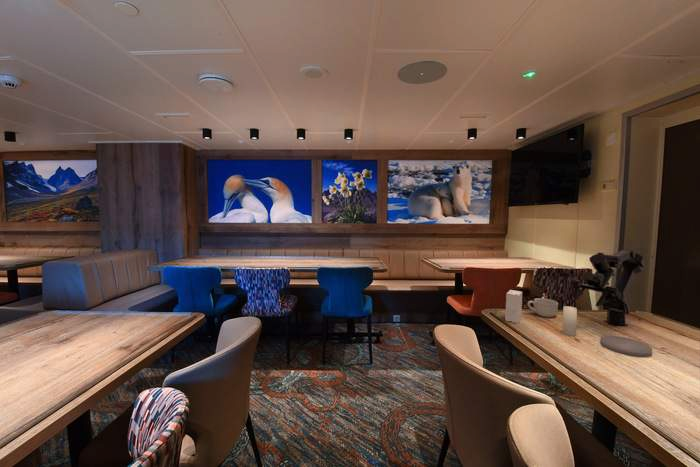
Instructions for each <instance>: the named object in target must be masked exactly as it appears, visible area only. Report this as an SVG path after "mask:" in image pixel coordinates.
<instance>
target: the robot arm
mask: <svg viewBox="0 0 700 467" xmlns="http://www.w3.org/2000/svg"><path fill="white" fill-rule="evenodd" d="M589 262H590V264H591V266H592V267H593V269H594V270H595V272H594V273H592V272H587V271H583V274H582V276H581V279H582V280H585V281H584V282H585V283H586V284H584V282H583V281H581V280H579V279H570V281H569V283H568V284H569V285H570V286H571V287H572V289H573V292H574V293H573V301H574V302H576V301H578V300H579V298H580V297H581V296H582V295H583V293H584V291H585V290H589V291H594V292H599V293H601V296H600V297H599V298H598V300H597V302H596V303H595V307H597V308H598V307H600V306H602V309H603V310H604V311H607V312H606V319H604V320H603V321H604V322H605V323H607V324H609V325H613V326H615V327H617V326H621V327H622V326H624V327H628V326H629V324H627V323H626V315H629V314H630V312H631V311H630V310H631V308H630V306H629V304H628V301H627V299H626V295H627V293H628V291H629V289H630V286H631V284H632V282H633V280H634V278H635V275H637V274H638V273H639V274H640V273H641V272H642V271H643V269H644V268H645V267H646V265H647V262H646V260H645V257H644V256H643V255H641V254H639V253H637V252H636V250H633V249H626V248H625V249H621V250H620V251H617V252H614V253H612V254H605V253H604V252H597V253H596V254H593V255H592V256H590V257H589ZM621 266H622V271H621V272H620V275H619V278H618V279H617V281H616V284H615V286H610V282H609V281H610V279H611V278H612V277H615V271H614V269H619V268H620V267H621ZM613 268H614V269H613Z"/></svg>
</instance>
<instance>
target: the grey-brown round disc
mask: <svg viewBox="0 0 700 467" xmlns="http://www.w3.org/2000/svg"><path fill="white" fill-rule="evenodd" d="M599 341H600V343H599V344H600V345H601V346H602V347H604V348H605V349H607V350H610V351H611V352H614V353H618V354H619V355H620V354H621V355H624V356H629V357H635V358H636V357H637V358H649V357H652V356H653V348H652V346H650V345H649V344H647V343H644V342H642V341H639V340H636V339H633V338H629V337H625V336H619V335H603V336H601V337H600V340H599Z"/></svg>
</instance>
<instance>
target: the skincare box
mask: <svg viewBox="0 0 700 467" xmlns="http://www.w3.org/2000/svg"><path fill="white" fill-rule="evenodd" d="M505 296H506V300H505V315H504V316H505V322H509V321H512V322H511V323H513V322H517V323H516V324H518V323H519V322H520V321H521V320H522V311H523V291H520V290H514V289H509V290H508V292H506V294H505ZM520 319H521V320H520Z"/></svg>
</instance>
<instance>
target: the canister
mask: <svg viewBox="0 0 700 467" xmlns="http://www.w3.org/2000/svg"><path fill="white" fill-rule="evenodd" d="M562 310H563V312H562V313H563V314H562V315H563V316H562V334H563V335H566V336H568V337H569V336H570V337H576V336H577V316H578V315H577V314H578V308H577V307H574V306H568V305H565V306H563V308H562Z"/></svg>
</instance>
